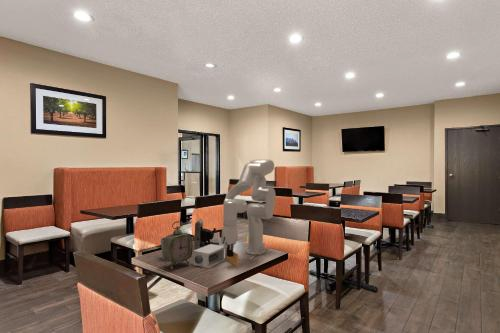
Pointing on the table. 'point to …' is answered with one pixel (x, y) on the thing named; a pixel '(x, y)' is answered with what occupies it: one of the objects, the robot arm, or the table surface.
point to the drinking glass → (162, 248)
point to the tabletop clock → (177, 246)
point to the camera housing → (208, 256)
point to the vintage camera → (202, 235)
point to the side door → (232, 258)
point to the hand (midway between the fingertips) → (229, 256)
